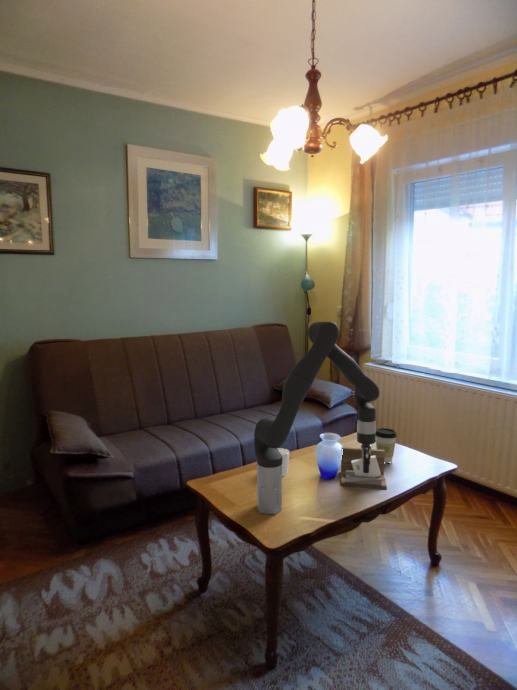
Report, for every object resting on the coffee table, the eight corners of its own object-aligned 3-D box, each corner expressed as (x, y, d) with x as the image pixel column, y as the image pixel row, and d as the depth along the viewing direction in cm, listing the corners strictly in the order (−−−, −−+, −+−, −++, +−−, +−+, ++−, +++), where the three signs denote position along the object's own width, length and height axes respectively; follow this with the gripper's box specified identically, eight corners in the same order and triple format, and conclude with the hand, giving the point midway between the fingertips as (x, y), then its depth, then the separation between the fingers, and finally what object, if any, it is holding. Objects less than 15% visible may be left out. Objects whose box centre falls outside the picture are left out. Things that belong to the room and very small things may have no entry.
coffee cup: (369, 459, 210) (370, 428, 208) (387, 457, 213) (389, 426, 211) (381, 467, 201) (382, 435, 199) (400, 465, 204) (401, 433, 202)
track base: (386, 489, 179) (387, 462, 177) (340, 485, 182) (341, 459, 181) (383, 475, 192) (384, 450, 191) (340, 471, 196) (341, 447, 194)
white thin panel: (381, 475, 181) (375, 457, 181) (357, 481, 183) (351, 462, 183) (380, 473, 184) (375, 455, 183) (356, 478, 186) (351, 460, 185)
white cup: (289, 470, 197) (289, 448, 196) (288, 477, 189) (289, 455, 188) (271, 469, 198) (271, 447, 196) (270, 476, 190) (270, 454, 189)
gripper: (377, 436, 174) (376, 478, 176) (374, 425, 187) (373, 465, 190) (357, 435, 175) (357, 477, 177) (356, 425, 189) (355, 464, 191)
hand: (365, 471), depth 184 cm, fingers closed on white thin panel, 2 cm apart
